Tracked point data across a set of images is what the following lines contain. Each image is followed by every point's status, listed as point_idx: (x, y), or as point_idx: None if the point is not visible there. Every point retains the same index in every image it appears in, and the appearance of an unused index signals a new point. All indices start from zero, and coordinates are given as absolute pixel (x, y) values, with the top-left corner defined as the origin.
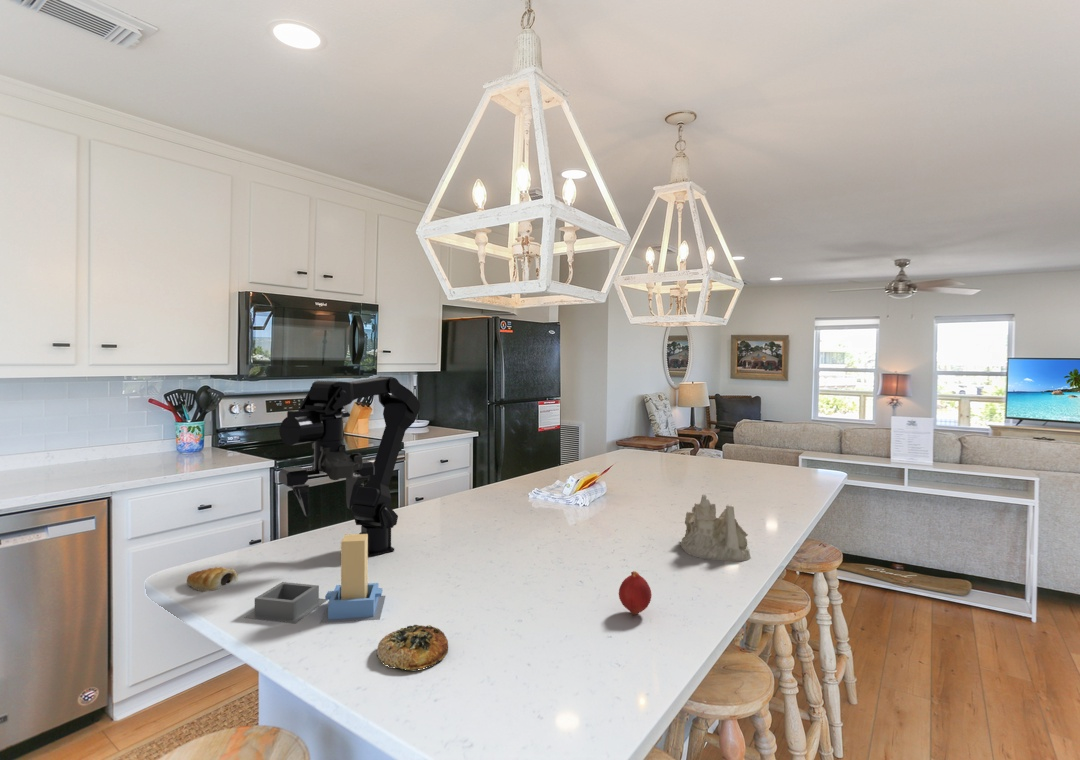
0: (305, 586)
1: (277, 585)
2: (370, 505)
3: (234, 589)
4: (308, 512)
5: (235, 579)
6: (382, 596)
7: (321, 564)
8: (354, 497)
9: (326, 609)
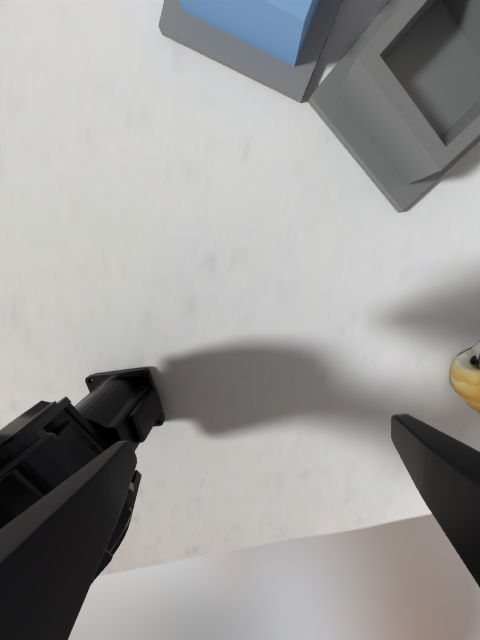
0: (394, 80)
1: (466, 142)
2: (25, 480)
3: (464, 326)
4: (409, 426)
5: (460, 361)
6: (168, 22)
7: (256, 377)
8: (35, 505)
9: (337, 6)
